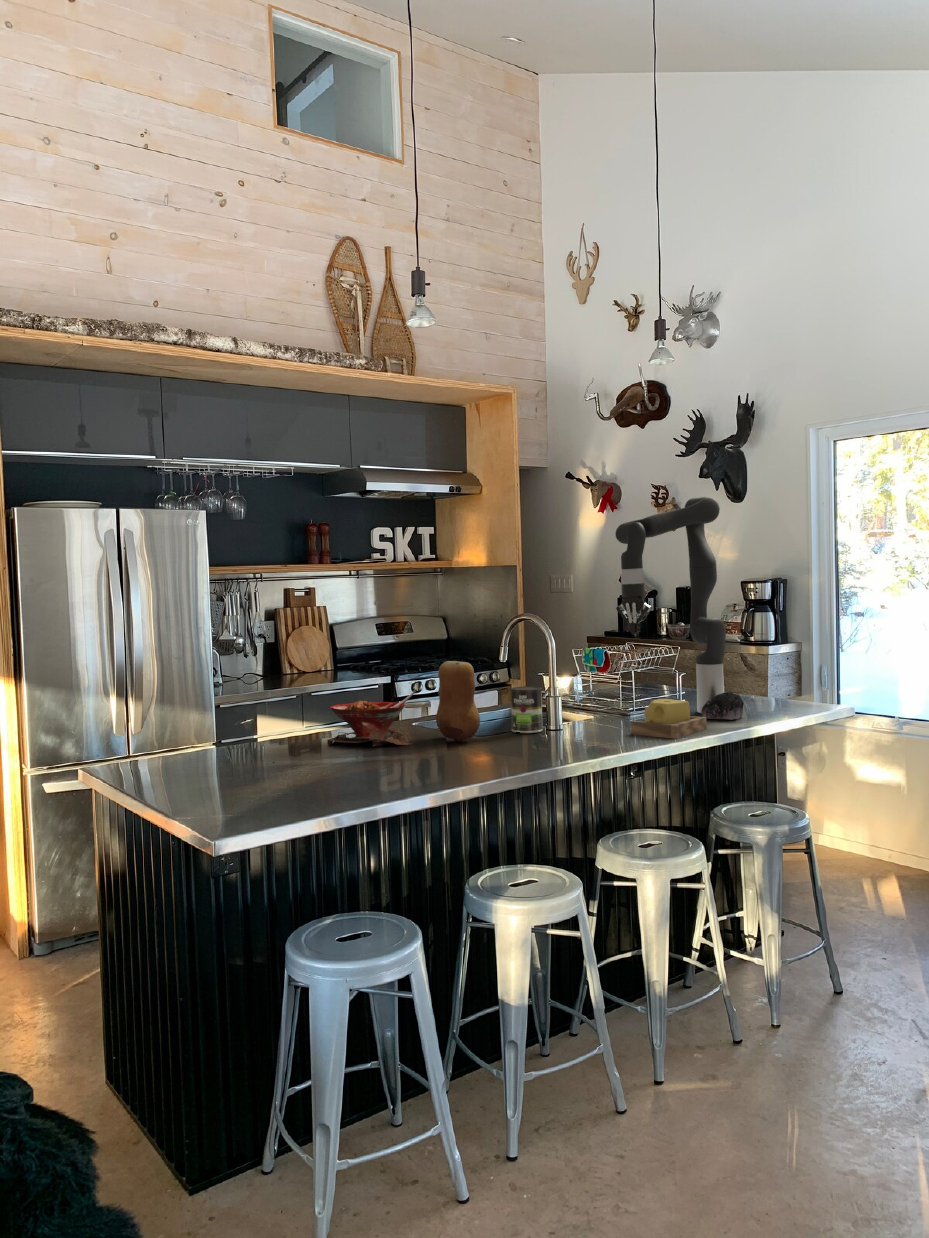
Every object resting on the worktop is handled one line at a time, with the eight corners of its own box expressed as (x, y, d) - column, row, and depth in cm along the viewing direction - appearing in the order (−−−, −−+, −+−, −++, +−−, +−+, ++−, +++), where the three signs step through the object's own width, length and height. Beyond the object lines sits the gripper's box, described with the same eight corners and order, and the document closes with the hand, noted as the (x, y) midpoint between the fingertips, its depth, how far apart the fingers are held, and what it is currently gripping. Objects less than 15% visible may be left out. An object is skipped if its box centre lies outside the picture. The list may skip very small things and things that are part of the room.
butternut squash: (482, 735, 306) (479, 658, 305) (478, 743, 293) (476, 662, 292) (439, 736, 308) (436, 659, 306) (434, 744, 294) (431, 663, 293)
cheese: (643, 732, 304) (642, 700, 303) (668, 728, 309) (667, 697, 309) (666, 736, 295) (665, 703, 294) (691, 732, 300) (691, 700, 300)
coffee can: (539, 733, 307) (538, 689, 307) (508, 733, 310) (506, 689, 310) (546, 728, 317) (544, 686, 316) (515, 728, 320) (514, 686, 319)
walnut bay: (661, 725, 314) (661, 713, 314) (706, 729, 303) (706, 717, 303) (631, 734, 300) (630, 721, 299) (677, 738, 289) (676, 725, 289)
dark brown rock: (694, 719, 325) (693, 690, 325) (727, 716, 330) (727, 687, 330) (717, 724, 313) (716, 694, 312) (751, 721, 317) (751, 691, 317)
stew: (419, 735, 312) (417, 686, 312) (415, 748, 288) (413, 695, 288) (333, 738, 312) (331, 689, 312) (323, 751, 288) (321, 698, 288)
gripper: (655, 581, 317) (658, 633, 318) (621, 582, 326) (624, 632, 327) (644, 582, 312) (646, 635, 313) (609, 583, 321) (612, 635, 322)
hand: (635, 634), depth 320 cm, fingers closed
